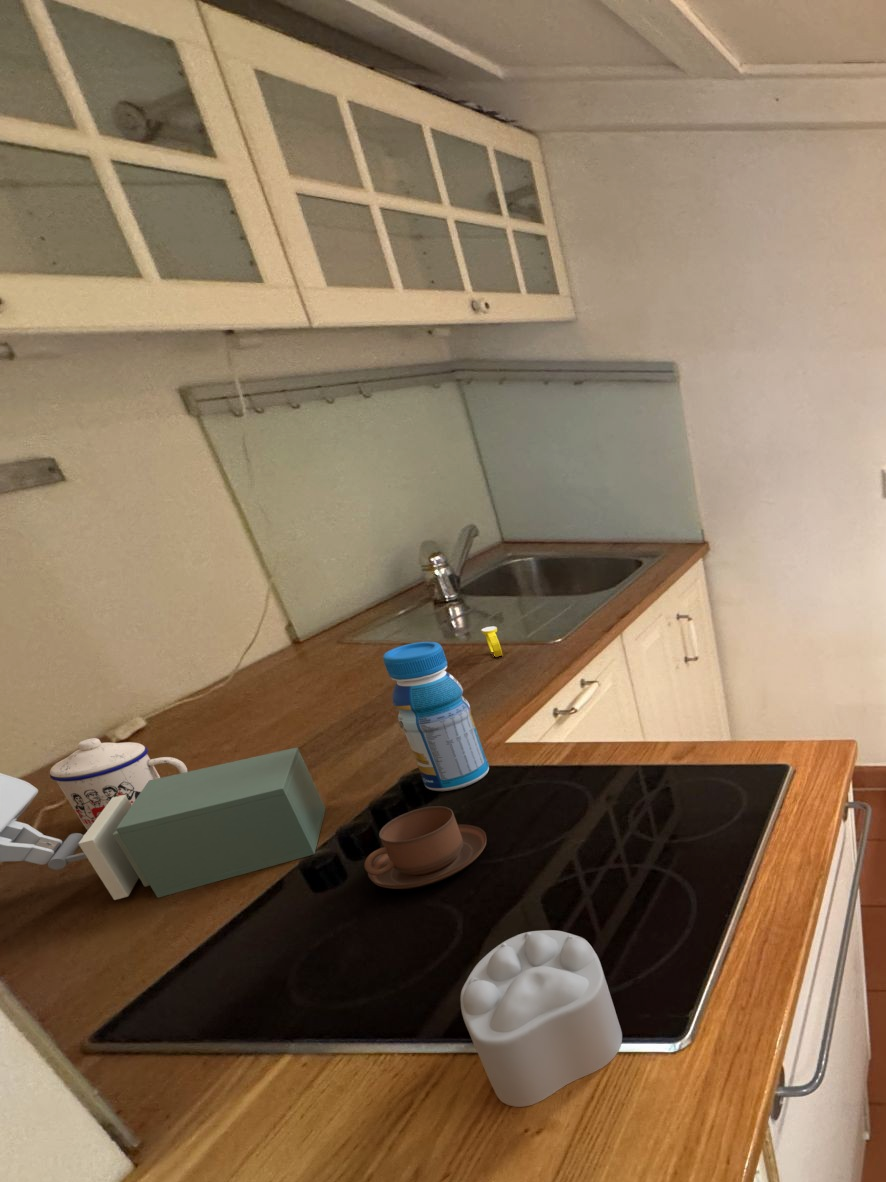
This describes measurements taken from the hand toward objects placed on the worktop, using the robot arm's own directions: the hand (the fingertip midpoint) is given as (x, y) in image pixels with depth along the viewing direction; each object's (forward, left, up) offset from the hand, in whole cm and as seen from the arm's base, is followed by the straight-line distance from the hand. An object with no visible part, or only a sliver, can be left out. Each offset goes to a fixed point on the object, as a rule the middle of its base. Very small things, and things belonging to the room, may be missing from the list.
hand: (55, 853), depth 87 cm
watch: (+46, +59, -6) cm, 75 cm away
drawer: (+9, 0, -5) cm, 10 cm away
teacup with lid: (+1, +20, -6) cm, 21 cm away
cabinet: (+15, 0, -6) cm, 16 cm away
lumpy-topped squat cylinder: (+44, -54, -6) cm, 70 cm away
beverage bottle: (+38, +5, -6) cm, 39 cm away
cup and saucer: (+35, -18, -6) cm, 40 cm away
